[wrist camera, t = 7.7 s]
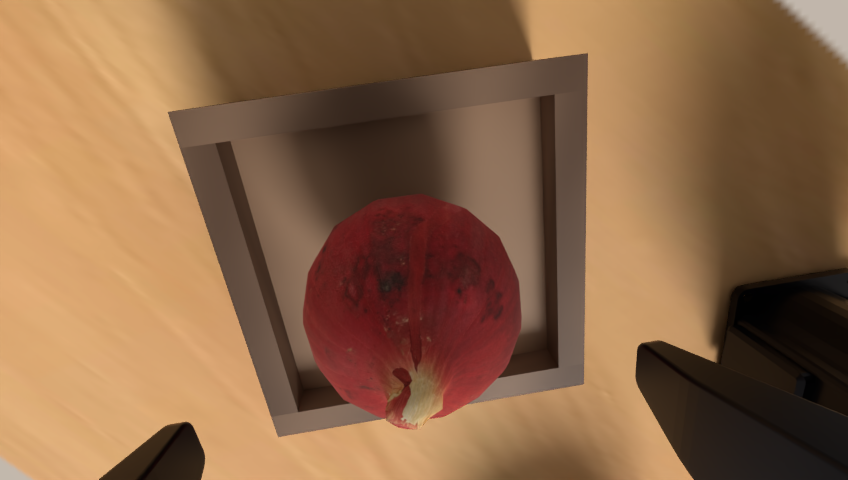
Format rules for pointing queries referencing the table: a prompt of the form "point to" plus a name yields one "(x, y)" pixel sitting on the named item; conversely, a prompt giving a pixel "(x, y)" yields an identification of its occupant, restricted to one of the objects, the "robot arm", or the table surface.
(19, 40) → the table surface
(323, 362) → the onion
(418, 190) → the walnut base
